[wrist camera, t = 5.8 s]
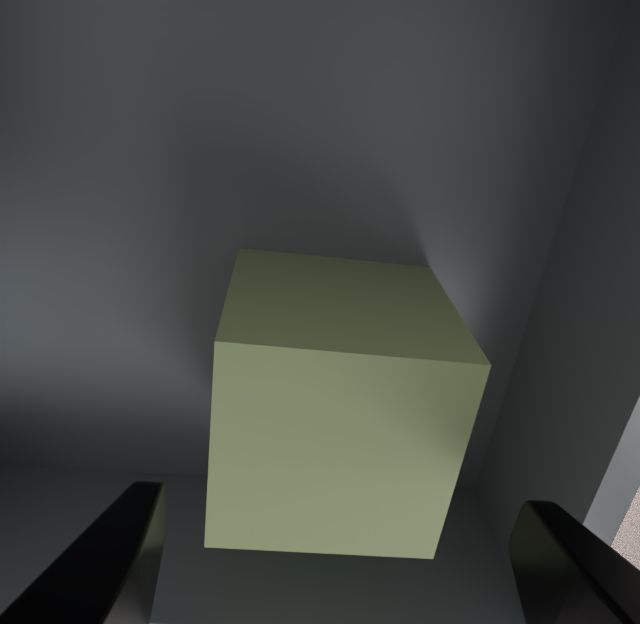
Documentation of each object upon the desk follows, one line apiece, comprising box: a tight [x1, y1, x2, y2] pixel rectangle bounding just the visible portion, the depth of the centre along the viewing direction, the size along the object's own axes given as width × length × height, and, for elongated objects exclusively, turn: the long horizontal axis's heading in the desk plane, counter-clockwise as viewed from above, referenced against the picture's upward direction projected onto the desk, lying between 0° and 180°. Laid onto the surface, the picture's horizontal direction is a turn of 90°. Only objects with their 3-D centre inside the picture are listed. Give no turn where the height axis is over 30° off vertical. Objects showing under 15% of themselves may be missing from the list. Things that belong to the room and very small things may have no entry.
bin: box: [0, 0, 640, 624], centre depth 10 cm, size 13×13×4 cm
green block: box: [204, 248, 491, 559], centre depth 11 cm, size 4×4×4 cm
